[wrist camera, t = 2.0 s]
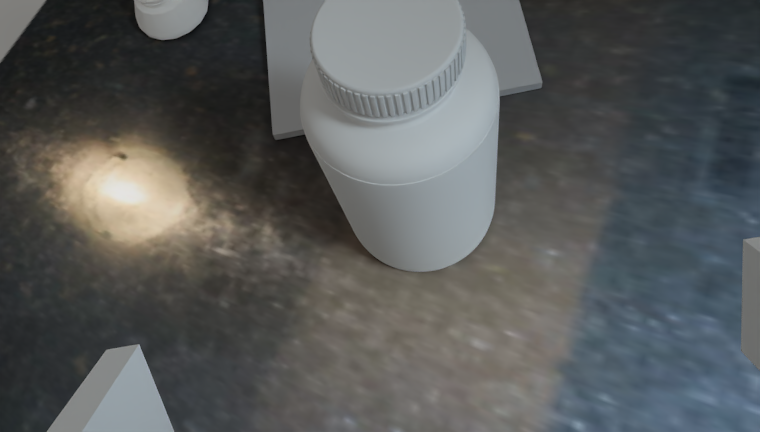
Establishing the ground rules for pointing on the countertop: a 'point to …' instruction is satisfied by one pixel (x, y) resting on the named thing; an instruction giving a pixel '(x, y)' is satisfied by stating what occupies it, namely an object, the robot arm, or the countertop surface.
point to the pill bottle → (404, 126)
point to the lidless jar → (169, 17)
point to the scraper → (293, 56)
